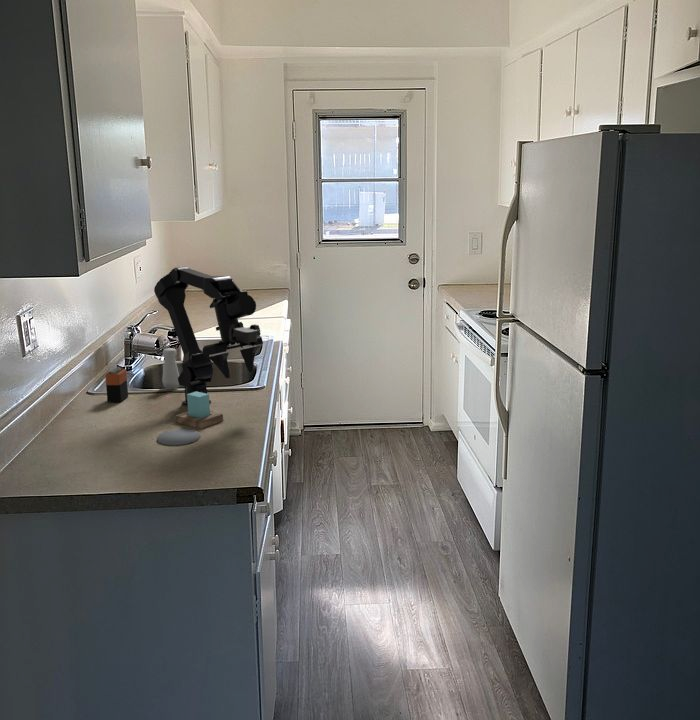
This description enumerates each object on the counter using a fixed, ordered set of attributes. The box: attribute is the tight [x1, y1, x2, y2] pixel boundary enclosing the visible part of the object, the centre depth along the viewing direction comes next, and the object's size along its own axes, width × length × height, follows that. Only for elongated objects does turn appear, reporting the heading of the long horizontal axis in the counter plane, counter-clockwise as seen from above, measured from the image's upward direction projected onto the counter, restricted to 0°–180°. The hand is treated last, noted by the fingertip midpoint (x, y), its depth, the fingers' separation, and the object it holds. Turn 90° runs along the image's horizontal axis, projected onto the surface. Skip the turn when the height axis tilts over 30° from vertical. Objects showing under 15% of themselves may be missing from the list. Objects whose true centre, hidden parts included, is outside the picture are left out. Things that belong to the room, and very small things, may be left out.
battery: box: [104, 366, 129, 404], centre depth 232 cm, size 4×7×10 cm, turn 176°
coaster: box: [156, 428, 201, 446], centre depth 198 cm, size 11×11×1 cm
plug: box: [187, 391, 211, 418], centre depth 211 cm, size 5×4×8 cm
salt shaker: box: [161, 347, 180, 390], centre depth 245 cm, size 6×6×13 cm
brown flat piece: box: [175, 410, 224, 429], centre depth 211 cm, size 10×8×2 cm
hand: (239, 375), depth 212 cm, fingers open, 9 cm apart
